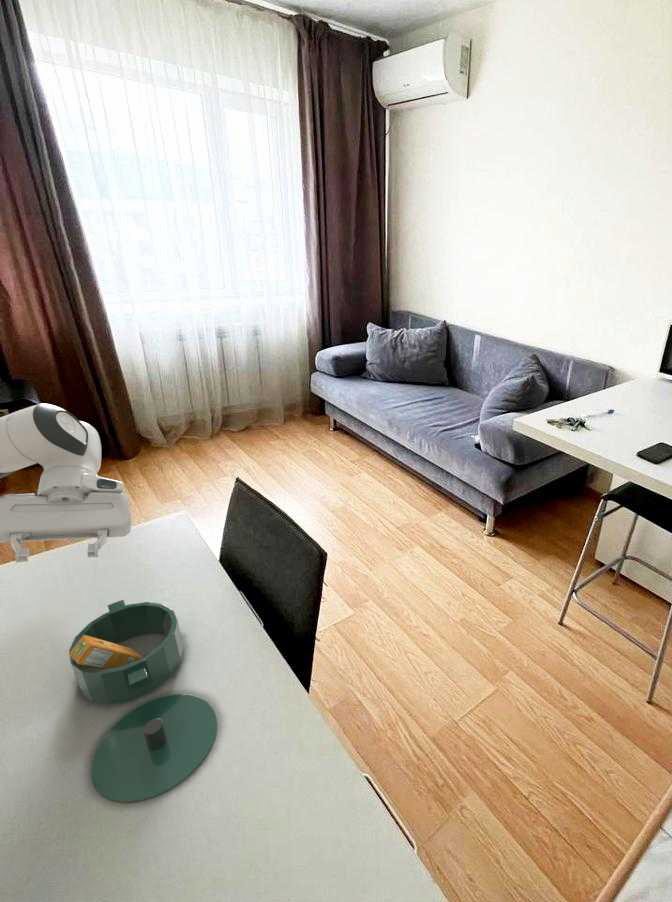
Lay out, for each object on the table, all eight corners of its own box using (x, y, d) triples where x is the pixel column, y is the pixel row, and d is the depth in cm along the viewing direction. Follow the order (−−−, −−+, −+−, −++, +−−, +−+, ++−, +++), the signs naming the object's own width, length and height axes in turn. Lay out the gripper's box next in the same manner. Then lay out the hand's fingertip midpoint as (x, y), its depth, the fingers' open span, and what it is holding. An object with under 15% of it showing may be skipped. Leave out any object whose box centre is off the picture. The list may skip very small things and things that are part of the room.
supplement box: (119, 668, 82) (66, 653, 74) (134, 649, 83) (84, 631, 76) (129, 678, 80) (75, 663, 72) (144, 658, 81) (94, 641, 74)
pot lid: (102, 834, 61) (93, 812, 59) (85, 737, 71) (77, 716, 70) (232, 757, 70) (228, 736, 68) (200, 681, 81) (196, 661, 79)
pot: (90, 739, 71) (77, 704, 68) (74, 650, 85) (63, 617, 82) (198, 686, 80) (191, 653, 77) (168, 613, 94) (161, 582, 90)
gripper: (-10, 482, 83) (-30, 551, 75) (133, 482, 94) (130, 542, 86) (-5, 505, 87) (-24, 574, 79) (132, 503, 98) (129, 562, 90)
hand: (58, 557), depth 82 cm, fingers open, 8 cm apart
